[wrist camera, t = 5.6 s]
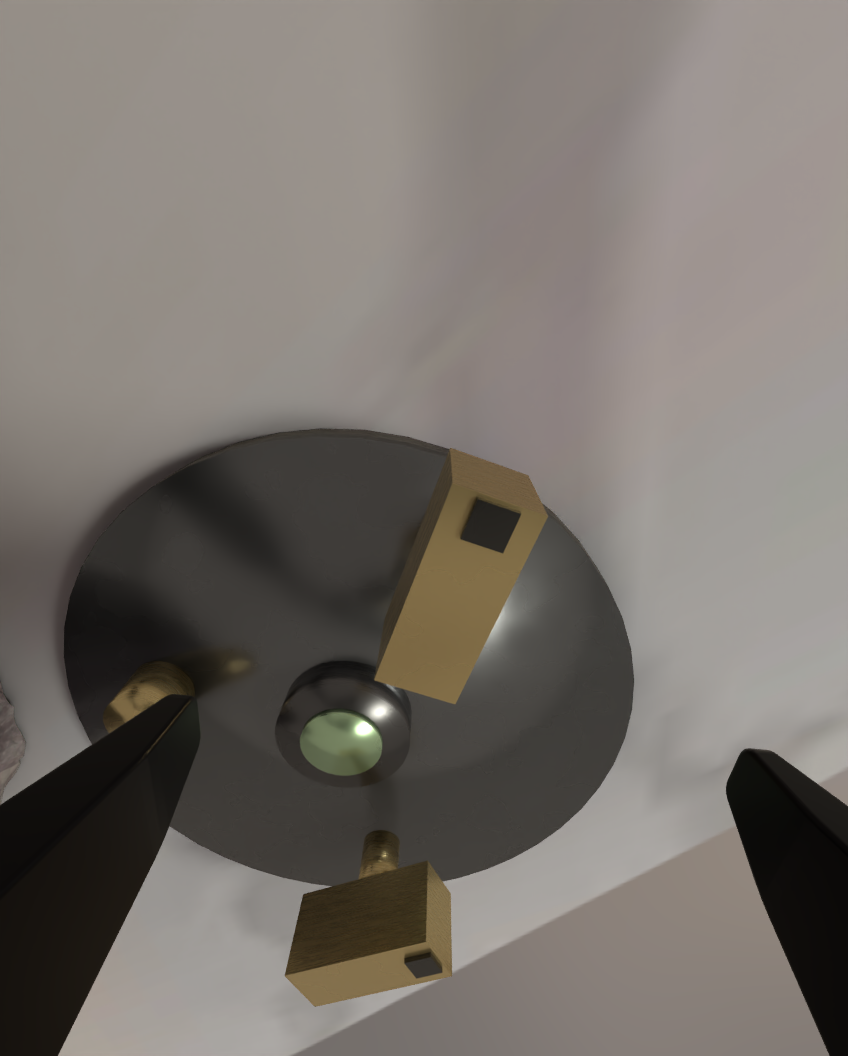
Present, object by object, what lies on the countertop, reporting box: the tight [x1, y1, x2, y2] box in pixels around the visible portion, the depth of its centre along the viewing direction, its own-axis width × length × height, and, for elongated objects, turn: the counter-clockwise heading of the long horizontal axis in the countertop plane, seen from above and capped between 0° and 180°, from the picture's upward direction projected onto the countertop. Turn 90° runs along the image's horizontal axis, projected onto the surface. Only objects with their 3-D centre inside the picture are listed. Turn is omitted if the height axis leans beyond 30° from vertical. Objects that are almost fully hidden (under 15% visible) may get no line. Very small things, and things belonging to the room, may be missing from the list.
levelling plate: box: [64, 429, 634, 886], centre depth 20 cm, size 22×22×3 cm
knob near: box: [374, 448, 548, 704], centre depth 14 cm, size 6×2×5 cm, turn 160°
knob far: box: [285, 830, 452, 1007], centre depth 21 cm, size 6×2×5 cm, turn 115°
